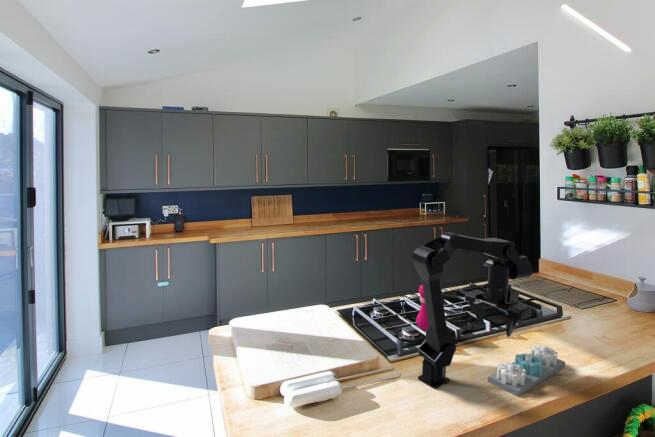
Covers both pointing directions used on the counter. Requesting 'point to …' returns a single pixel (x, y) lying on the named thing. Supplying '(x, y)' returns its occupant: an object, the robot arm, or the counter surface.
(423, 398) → the counter surface
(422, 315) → the pepper mill
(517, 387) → the gear board
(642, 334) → the counter surface
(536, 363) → the teal gear
